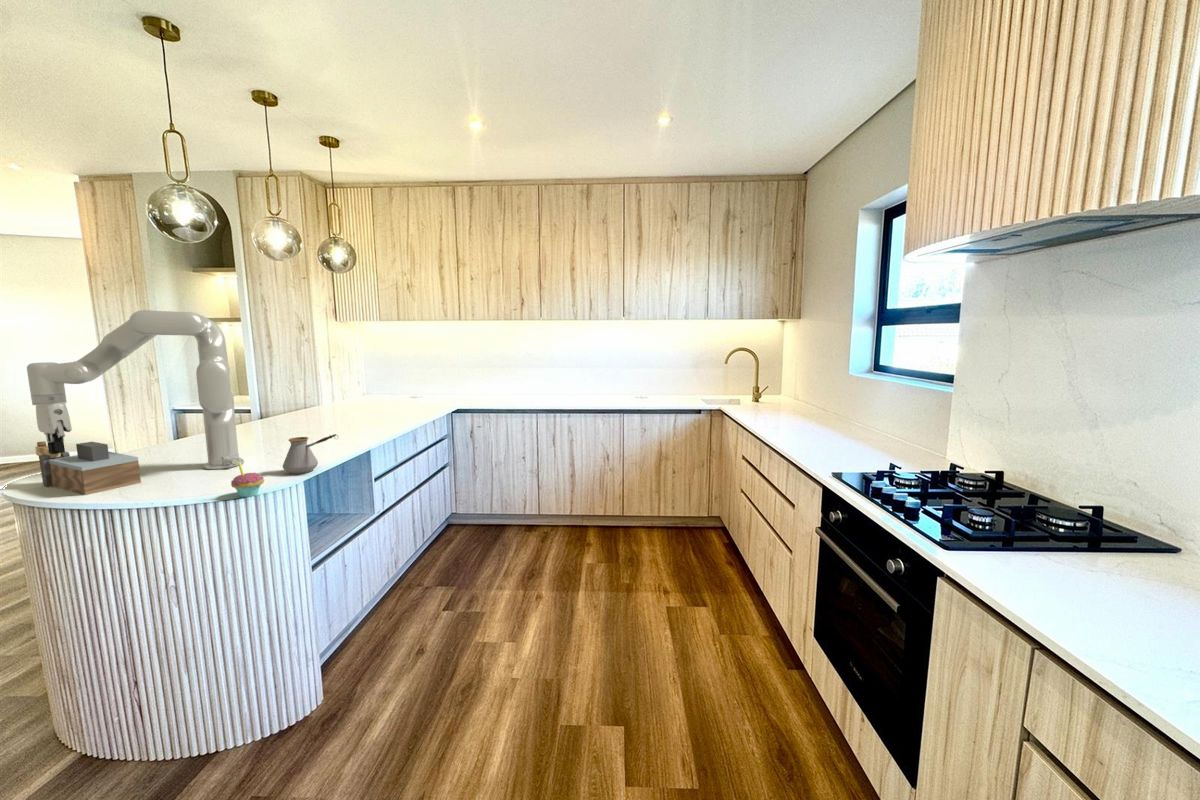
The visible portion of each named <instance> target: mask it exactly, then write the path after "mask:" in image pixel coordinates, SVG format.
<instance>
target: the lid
mask: <svg viewBox="0 0 1200 800" xmlns="http://www.w3.org/2000/svg"><path fill="white" fill-rule="evenodd" d="M75 446H76V452H77V454H76V455H70V456H69V457H63V458H57V459H51V460H48V461H49V464H54V465H58V466H63V467H67V468H71V469H76V470H80V471H84V470H90V469H95V468H100V467H106V466H111V465H116V464H122V463H127V462H132V461H138V462H139V456H135V455H129V454H125V453H119V452H113V451H109V446H108V444H106V443H102V442H96V441H88V442H82V443H76V444H75Z"/></svg>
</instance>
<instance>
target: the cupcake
mask: <svg viewBox="0 0 1200 800" xmlns="http://www.w3.org/2000/svg"><path fill="white" fill-rule="evenodd" d="M238 462H239V461H238ZM238 465H239V466H238V468H239V471H240V475H237V476H235V477H233V478H232V480H231V485H230V486H231V487H232V488H234V489H235V490H236V493H238V495H239V497H240V498H250V497H254V496H256V495H258V494H259V491H260V488H261V485H262V484H264V482H265V479H264V476H263V475H262V474H260V473H256V472H246V473H244V470H243V466H242V464H241V463H240V462H239V463H238Z"/></svg>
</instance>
